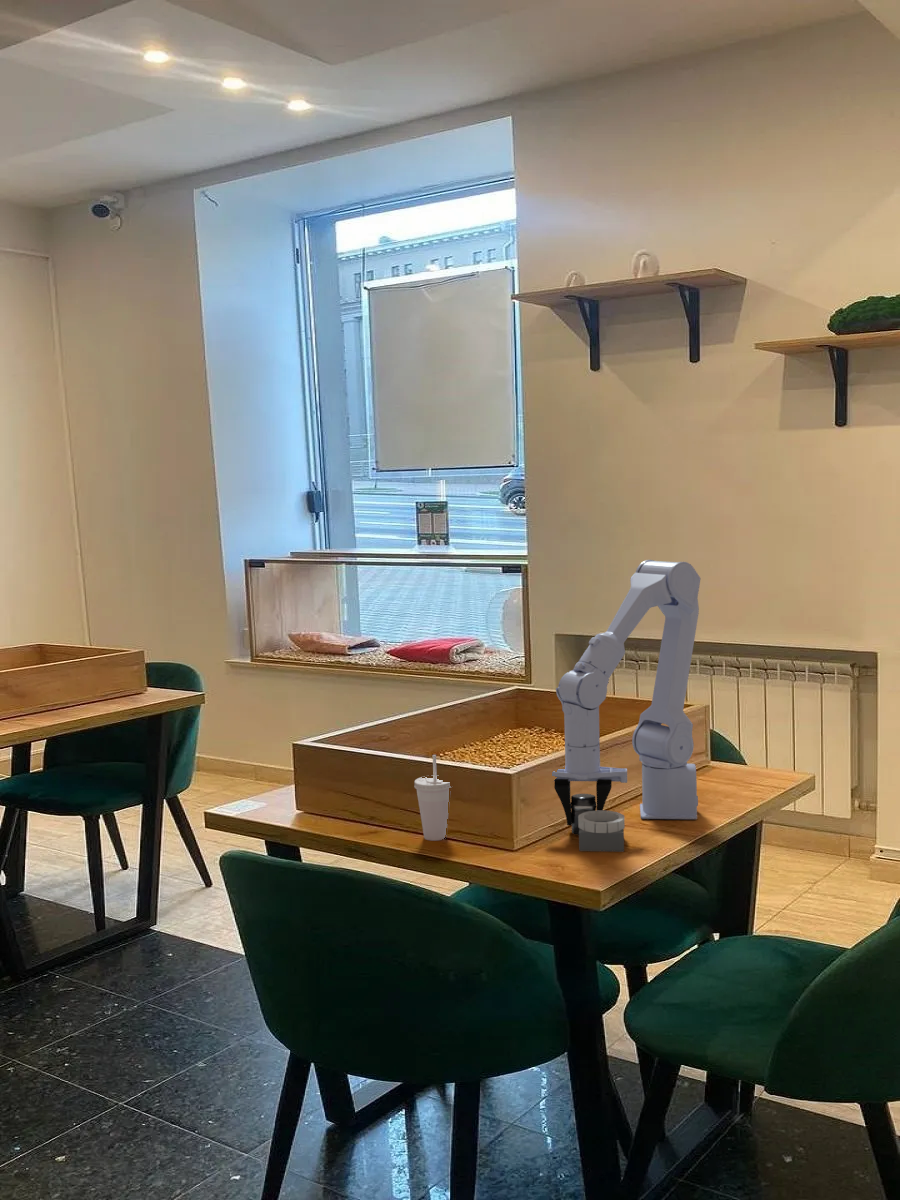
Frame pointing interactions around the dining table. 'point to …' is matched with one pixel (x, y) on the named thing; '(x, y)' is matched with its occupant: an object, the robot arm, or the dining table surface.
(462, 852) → the dining table surface
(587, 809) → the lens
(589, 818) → the block with notched collar
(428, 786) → the smoothie
